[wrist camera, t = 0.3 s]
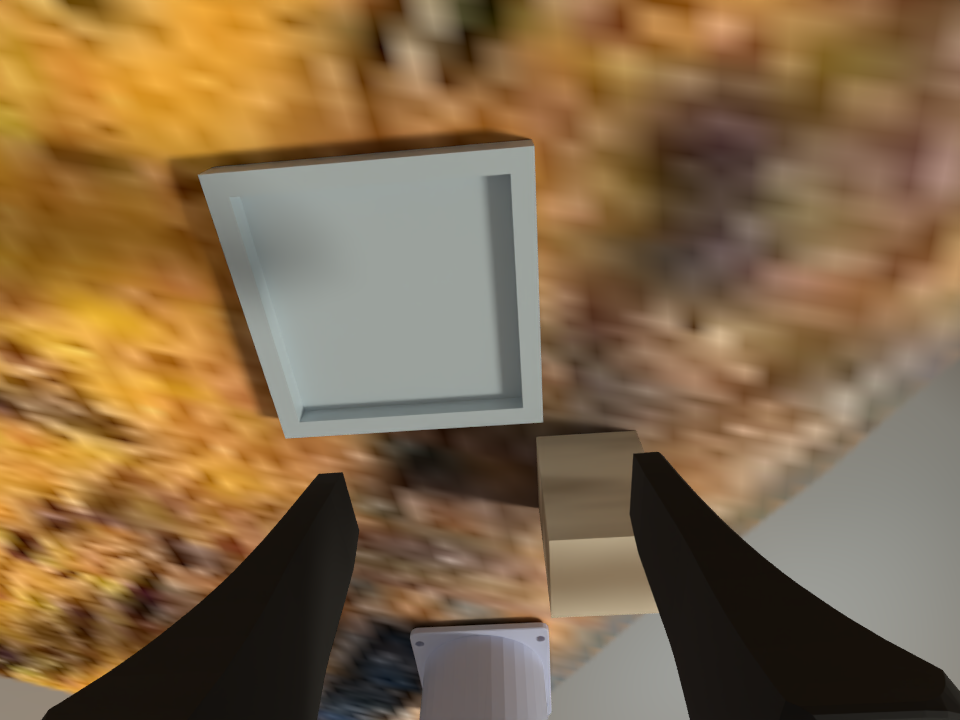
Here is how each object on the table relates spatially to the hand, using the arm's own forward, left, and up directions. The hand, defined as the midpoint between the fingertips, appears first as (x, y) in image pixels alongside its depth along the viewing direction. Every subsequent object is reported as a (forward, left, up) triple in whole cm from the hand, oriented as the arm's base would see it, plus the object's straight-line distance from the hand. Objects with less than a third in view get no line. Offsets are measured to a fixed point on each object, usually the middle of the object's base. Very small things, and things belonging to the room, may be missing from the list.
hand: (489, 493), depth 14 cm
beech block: (-8, -4, -10) cm, 13 cm away
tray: (+1, +3, -10) cm, 10 cm away
